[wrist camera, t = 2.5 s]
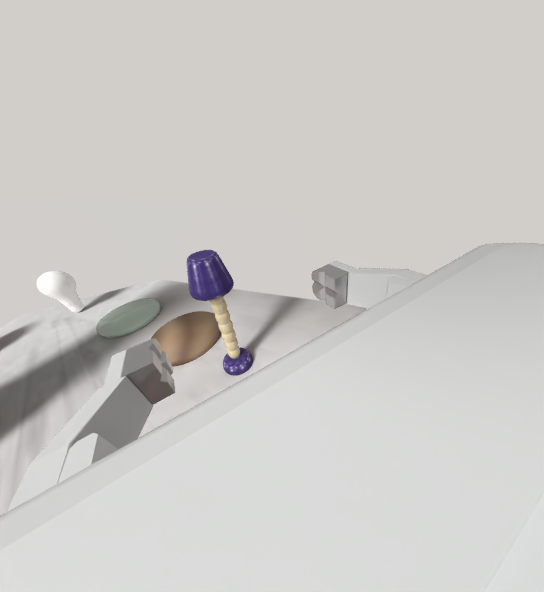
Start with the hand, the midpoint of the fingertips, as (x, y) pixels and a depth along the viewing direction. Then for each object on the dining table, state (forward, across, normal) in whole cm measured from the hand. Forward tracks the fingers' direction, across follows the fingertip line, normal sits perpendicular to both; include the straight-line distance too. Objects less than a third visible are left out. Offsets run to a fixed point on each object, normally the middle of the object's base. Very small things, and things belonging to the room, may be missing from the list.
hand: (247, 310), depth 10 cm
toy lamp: (+12, 0, +17) cm, 21 cm away
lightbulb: (+52, +29, +16) cm, 62 cm away
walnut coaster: (+23, +6, +17) cm, 29 cm away
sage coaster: (+38, +16, +16) cm, 45 cm away
